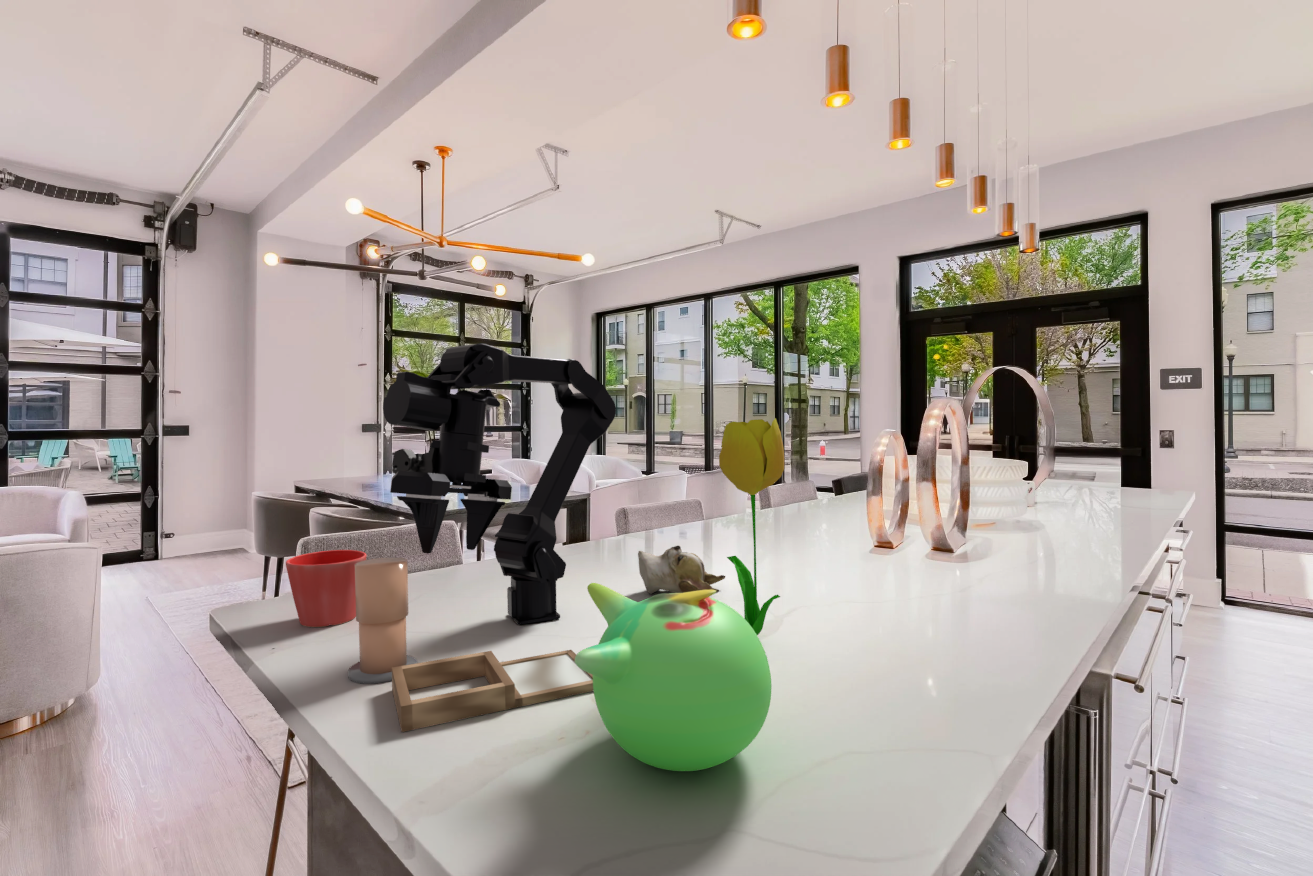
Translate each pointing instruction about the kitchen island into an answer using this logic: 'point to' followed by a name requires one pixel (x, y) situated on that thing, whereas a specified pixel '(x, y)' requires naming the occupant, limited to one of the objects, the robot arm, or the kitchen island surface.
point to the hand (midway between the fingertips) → (449, 551)
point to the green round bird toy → (677, 678)
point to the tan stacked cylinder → (382, 613)
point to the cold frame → (506, 689)
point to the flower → (752, 490)
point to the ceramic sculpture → (675, 572)
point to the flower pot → (324, 586)
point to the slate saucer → (364, 678)
